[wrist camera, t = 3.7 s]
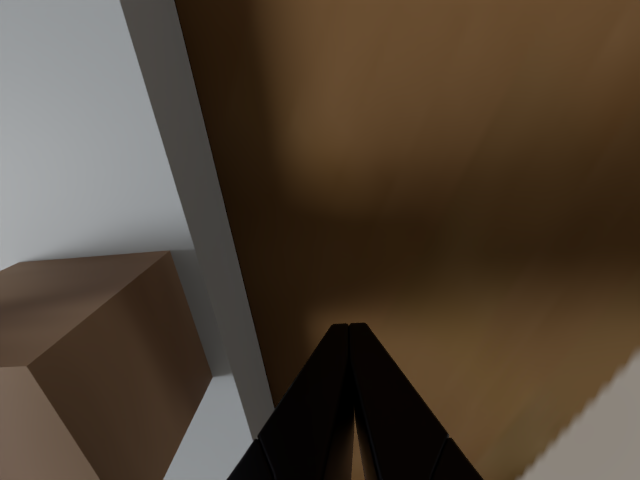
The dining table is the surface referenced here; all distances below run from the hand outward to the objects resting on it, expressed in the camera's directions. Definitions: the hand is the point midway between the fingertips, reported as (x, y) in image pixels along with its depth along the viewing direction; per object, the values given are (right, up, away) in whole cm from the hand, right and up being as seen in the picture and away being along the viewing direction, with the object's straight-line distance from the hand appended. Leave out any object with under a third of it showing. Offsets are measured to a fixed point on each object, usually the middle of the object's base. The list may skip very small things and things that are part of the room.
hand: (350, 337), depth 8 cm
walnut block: (-7, 0, +2) cm, 7 cm away
